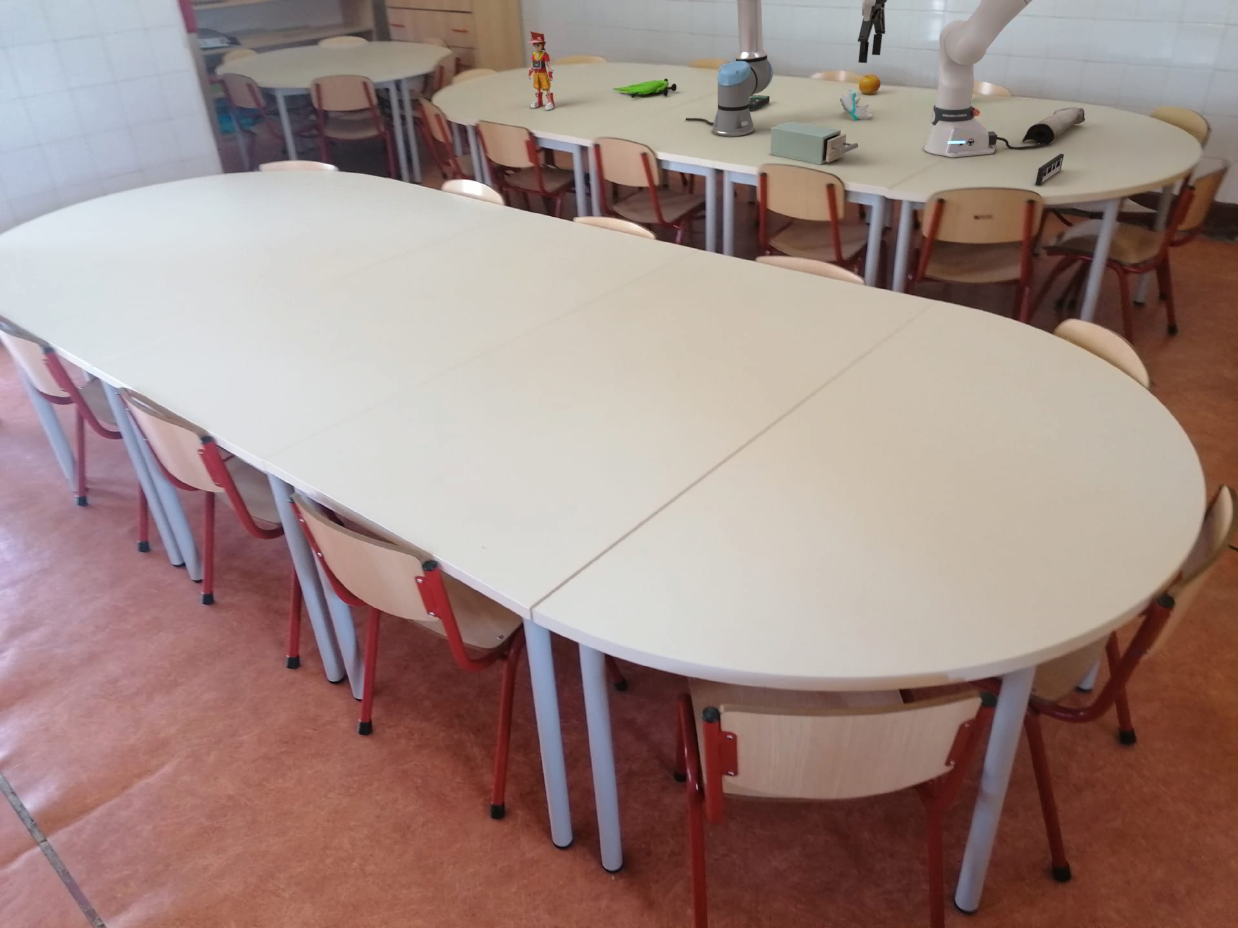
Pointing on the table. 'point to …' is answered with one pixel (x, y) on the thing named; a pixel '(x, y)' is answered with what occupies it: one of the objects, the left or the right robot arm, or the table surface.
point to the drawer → (836, 147)
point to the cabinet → (800, 141)
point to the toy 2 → (648, 88)
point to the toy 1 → (541, 71)
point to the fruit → (869, 84)
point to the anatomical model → (854, 106)
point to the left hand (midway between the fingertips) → (869, 59)
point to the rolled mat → (1054, 125)
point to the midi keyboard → (1049, 169)
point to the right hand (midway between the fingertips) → (865, 18)
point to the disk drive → (757, 101)
